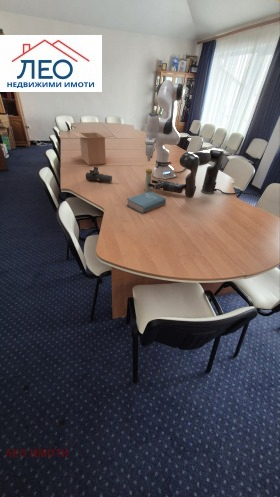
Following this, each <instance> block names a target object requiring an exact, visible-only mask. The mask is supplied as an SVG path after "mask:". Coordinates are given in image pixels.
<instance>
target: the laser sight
mask: <svg viewBox="0 0 280 497" xmlns="http://www.w3.org/2000/svg"><path fill="white" fill-rule="evenodd" d="M85 179H86V180H87V181H90V182H91V181H92V182H99V183H110V184H111V183H112V181H113V175H108V174H104V173H100V171H99V167H97V166H93V170H92V169H89V172H88V171H87V172H86V173H85Z"/></svg>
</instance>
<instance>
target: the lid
mask: <svg viewBox="0 0 280 497" xmlns="http://www.w3.org/2000/svg"><path fill="white" fill-rule="evenodd" d="M146 173H148V174H151V173H152V174H153V169H151V168H146V169H145V174H146Z"/></svg>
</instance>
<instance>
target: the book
mask: <svg viewBox="0 0 280 497" xmlns="http://www.w3.org/2000/svg"><path fill="white" fill-rule="evenodd" d="M126 200H127V204H126V206H127V207H129V208H131V209H133V210H135V211H137V212H139V213H140V214H144V213H147V212H149V211H151V210H154V209H156V208H159V207H162V206H164V205H166V202H167V198H166V197H164V196H161V195H159V194H158V193H155V192H153V191H151V190H150V191H145V192H144V193H140V194H137V195H134V196H131V197H128V198H127V199H126Z"/></svg>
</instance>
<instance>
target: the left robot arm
mask: <svg viewBox="0 0 280 497" xmlns="http://www.w3.org/2000/svg"><path fill="white" fill-rule="evenodd" d="M184 95H185V86H184V84H182V83H176V82H173V81H172V80H170V79H166V80H164V81H163V82H161V83H158V85H157V87H156V103H157V105H158V106H159V107H160V108H161V109H162V114H161V117H160V114H159V113H158V112H150V113H148V114H147V119H146V133H145V140H144V144H145V156H146V157H147V162H150V161H151V159H153V157H154V156H153V155H154V152H155V151H156V159H155V165H154V170H153V173H152V174H153V175H152V176H153V177H154V178H156V179H160V180H161V179H162V180H169V179H173V178H177V175H176V174H177V173H178V174H179V173H183V172H184V171H185V170H187V169H186V168H184V169H183V170H181V171H175V169H174V168H173V167H172V166H171V165H172V164H173V162H172V161H169V158H170V151H169V150H168V149H167V148H165V146H178V144H179V143H180V140H181V135H180V133H179V132H178V131H177V129H176V125H175V121H176V115H177V103H179V102H180V101H181V100H182V99H183V97H184ZM199 166H202V165H198V167H199Z"/></svg>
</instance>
